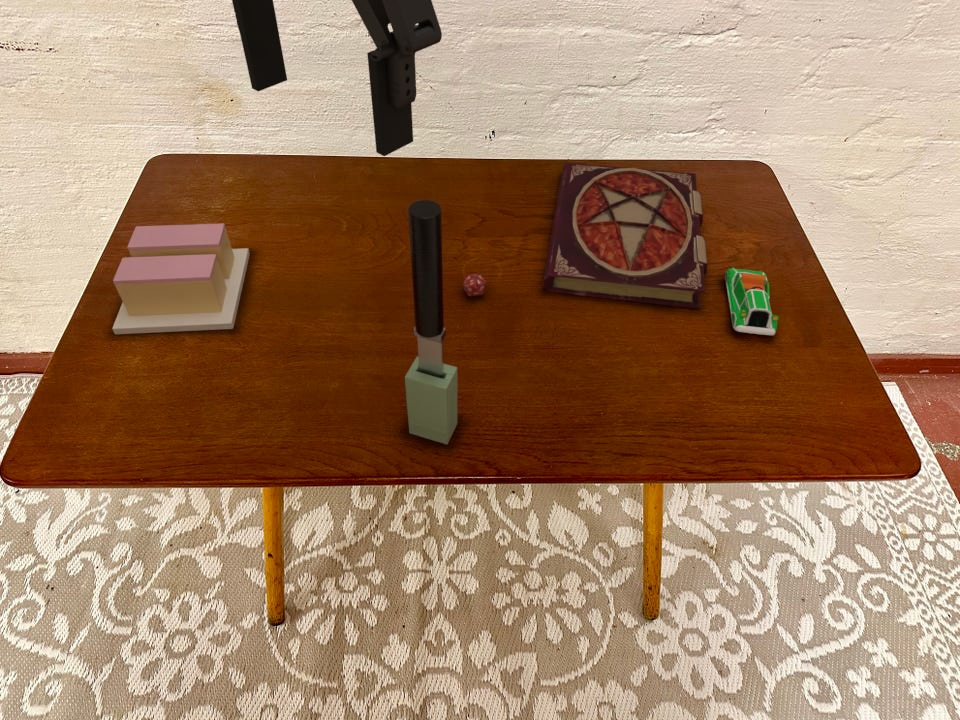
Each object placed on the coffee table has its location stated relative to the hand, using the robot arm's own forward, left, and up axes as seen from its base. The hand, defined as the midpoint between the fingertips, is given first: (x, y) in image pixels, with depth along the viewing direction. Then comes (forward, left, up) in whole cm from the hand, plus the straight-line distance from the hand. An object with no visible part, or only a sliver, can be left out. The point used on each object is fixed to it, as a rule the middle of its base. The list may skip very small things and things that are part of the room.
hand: (328, 114), depth 49 cm
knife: (+5, -5, -33) cm, 34 cm away
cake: (-8, +33, -35) cm, 49 cm away
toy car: (+49, -13, -35) cm, 61 cm away
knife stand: (+5, -5, -35) cm, 36 cm away
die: (+22, +11, -35) cm, 43 cm away
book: (+47, +8, -35) cm, 59 cm away
